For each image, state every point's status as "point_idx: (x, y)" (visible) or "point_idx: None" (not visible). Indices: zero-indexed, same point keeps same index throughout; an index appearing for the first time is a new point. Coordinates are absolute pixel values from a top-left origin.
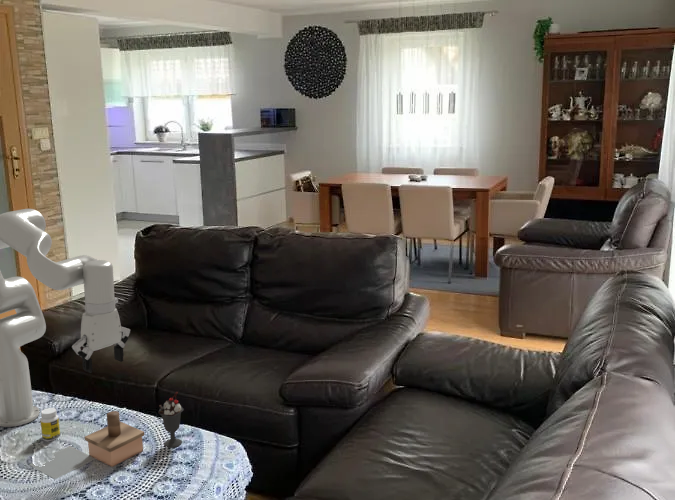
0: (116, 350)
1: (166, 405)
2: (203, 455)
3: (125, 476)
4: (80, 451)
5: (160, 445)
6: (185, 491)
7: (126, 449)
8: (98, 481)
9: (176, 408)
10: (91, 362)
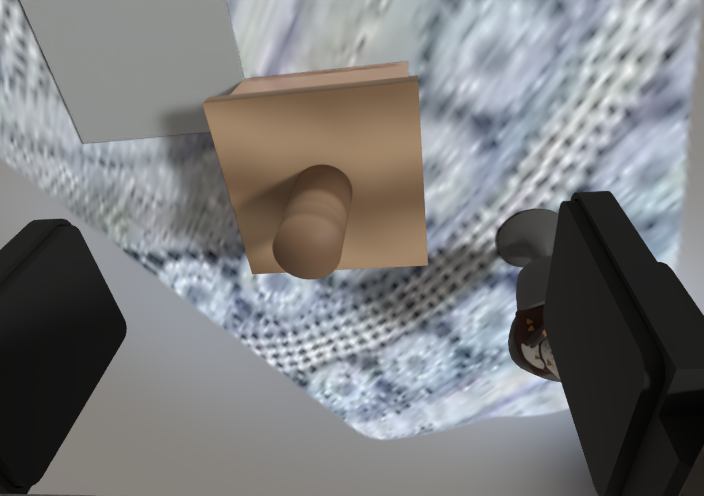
0: (606, 373)
1: (552, 369)
2: None
3: (288, 284)
4: (224, 13)
5: (493, 215)
6: (367, 425)
7: None
8: (210, 249)
9: None
10: (53, 445)
